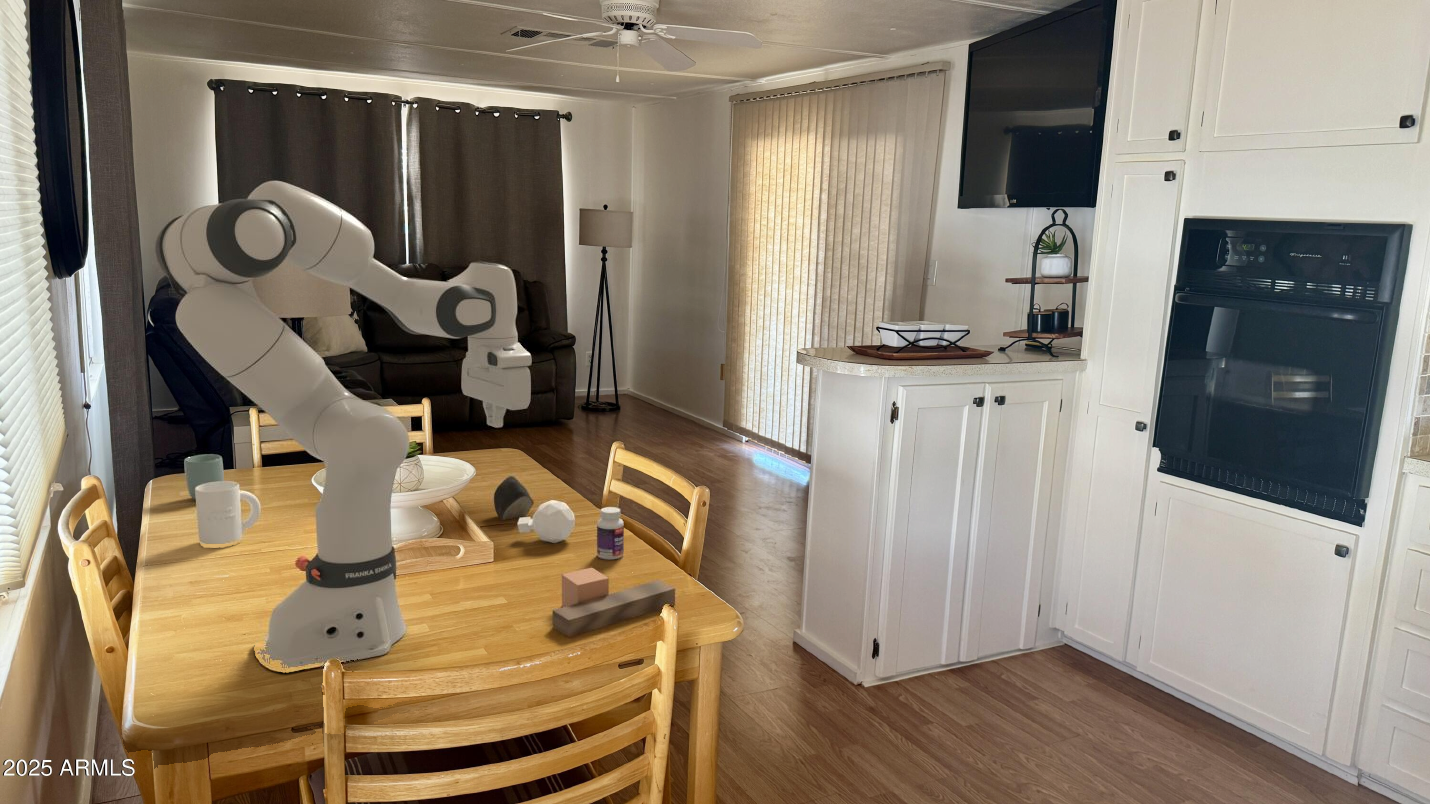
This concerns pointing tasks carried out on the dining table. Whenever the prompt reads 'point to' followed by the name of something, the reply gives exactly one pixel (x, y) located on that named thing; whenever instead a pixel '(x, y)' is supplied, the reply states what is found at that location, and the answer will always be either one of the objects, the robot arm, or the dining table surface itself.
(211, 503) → the mug
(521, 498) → the stone
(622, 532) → the pill bottle
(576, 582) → the block
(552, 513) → the perfume bottle
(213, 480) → the cup
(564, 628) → the board
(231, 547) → the dining table surface
